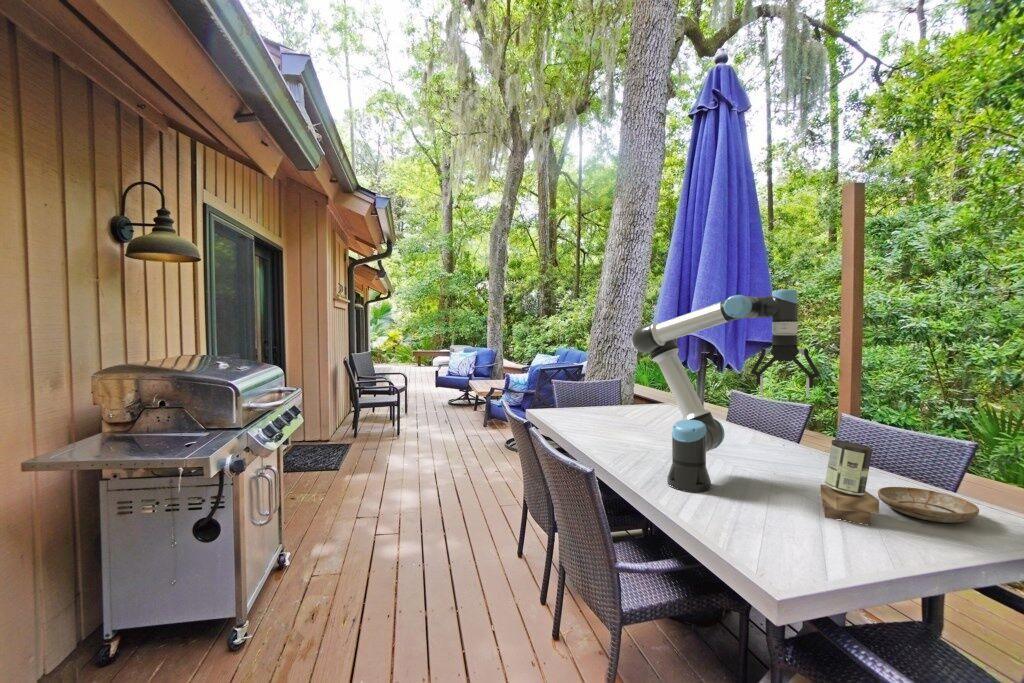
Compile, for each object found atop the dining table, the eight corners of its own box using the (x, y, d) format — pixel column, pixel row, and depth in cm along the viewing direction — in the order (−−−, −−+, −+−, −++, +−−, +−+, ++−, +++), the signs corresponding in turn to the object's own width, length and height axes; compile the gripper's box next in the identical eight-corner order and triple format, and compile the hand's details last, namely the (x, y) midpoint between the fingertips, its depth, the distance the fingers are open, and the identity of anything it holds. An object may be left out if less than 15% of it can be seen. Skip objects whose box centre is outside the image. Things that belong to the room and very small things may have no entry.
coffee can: (848, 484, 144) (856, 442, 144) (873, 497, 134) (882, 451, 133) (816, 480, 145) (824, 437, 144) (838, 492, 134) (847, 447, 133)
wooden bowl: (977, 513, 140) (977, 497, 140) (980, 538, 123) (980, 520, 123) (881, 494, 157) (882, 480, 156) (872, 514, 140) (873, 498, 140)
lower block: (824, 519, 138) (824, 506, 138) (822, 506, 147) (822, 494, 147) (870, 527, 132) (870, 513, 132) (864, 513, 141) (864, 501, 141)
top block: (836, 509, 135) (836, 496, 135) (820, 496, 146) (820, 484, 145) (878, 513, 132) (879, 499, 132) (859, 499, 143) (859, 487, 143)
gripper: (743, 334, 158) (742, 394, 159) (829, 334, 145) (828, 400, 146) (744, 334, 164) (744, 392, 165) (827, 334, 151) (827, 396, 152)
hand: (784, 395), depth 155 cm, fingers open, 13 cm apart
